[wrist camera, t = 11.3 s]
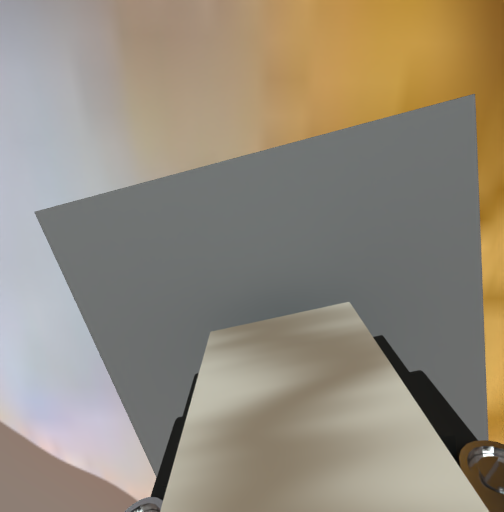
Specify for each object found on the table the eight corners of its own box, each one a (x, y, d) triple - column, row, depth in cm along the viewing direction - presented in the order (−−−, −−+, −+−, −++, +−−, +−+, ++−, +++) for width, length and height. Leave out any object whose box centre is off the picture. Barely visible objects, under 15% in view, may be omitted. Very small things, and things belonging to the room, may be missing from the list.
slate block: (404, 115, 15) (474, 93, 10) (431, 383, 19) (488, 455, 15) (100, 197, 16) (34, 211, 11) (190, 428, 21) (170, 508, 16)
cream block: (349, 301, 11) (510, 543, 4) (369, 415, 12) (513, 739, 5) (210, 332, 11) (135, 595, 4) (245, 438, 12) (230, 764, 6)
